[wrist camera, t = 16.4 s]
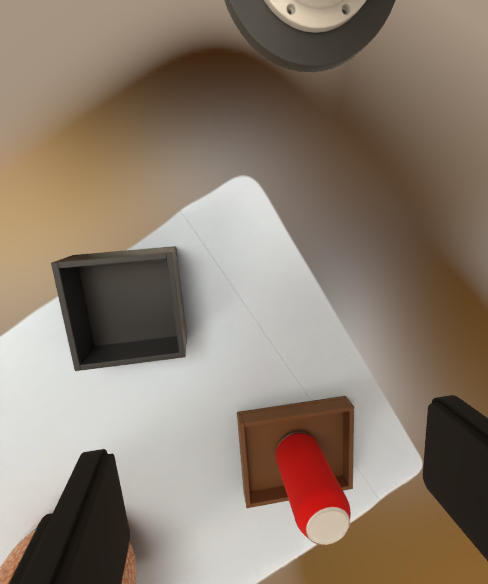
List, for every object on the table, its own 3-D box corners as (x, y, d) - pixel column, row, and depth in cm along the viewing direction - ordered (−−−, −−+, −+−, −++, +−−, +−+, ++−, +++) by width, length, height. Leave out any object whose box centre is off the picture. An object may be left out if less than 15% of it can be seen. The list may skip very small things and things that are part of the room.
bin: (175, 246, 37) (172, 252, 32) (186, 337, 40) (185, 357, 35) (72, 255, 36) (50, 262, 30) (91, 349, 39) (74, 371, 33)
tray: (345, 395, 45) (354, 406, 43) (344, 474, 48) (352, 488, 46) (236, 412, 43) (239, 424, 41) (243, 492, 47) (246, 508, 44)
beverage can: (310, 421, 45) (350, 495, 33) (320, 457, 46) (361, 538, 35) (268, 437, 44) (294, 516, 33) (280, 472, 46) (308, 559, 34)
